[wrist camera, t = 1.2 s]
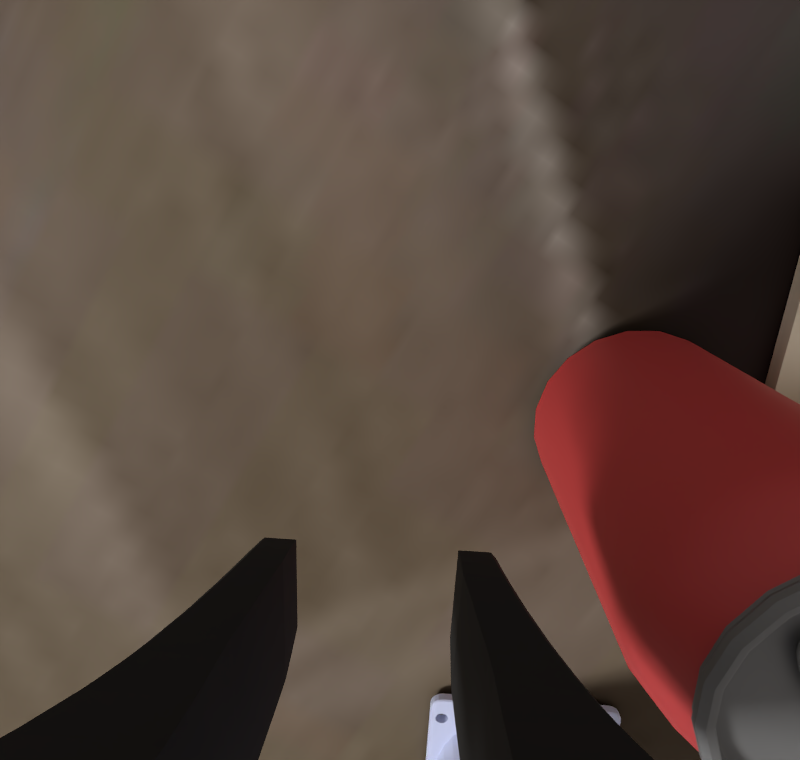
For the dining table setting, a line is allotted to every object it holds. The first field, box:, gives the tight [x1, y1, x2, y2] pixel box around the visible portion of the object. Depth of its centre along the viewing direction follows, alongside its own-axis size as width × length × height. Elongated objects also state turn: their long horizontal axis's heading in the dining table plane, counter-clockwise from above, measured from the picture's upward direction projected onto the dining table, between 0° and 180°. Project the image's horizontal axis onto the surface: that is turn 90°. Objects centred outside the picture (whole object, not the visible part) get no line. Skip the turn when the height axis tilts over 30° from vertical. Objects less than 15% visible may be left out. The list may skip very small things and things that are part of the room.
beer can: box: [534, 331, 800, 760], centre depth 14 cm, size 7×7×12 cm
